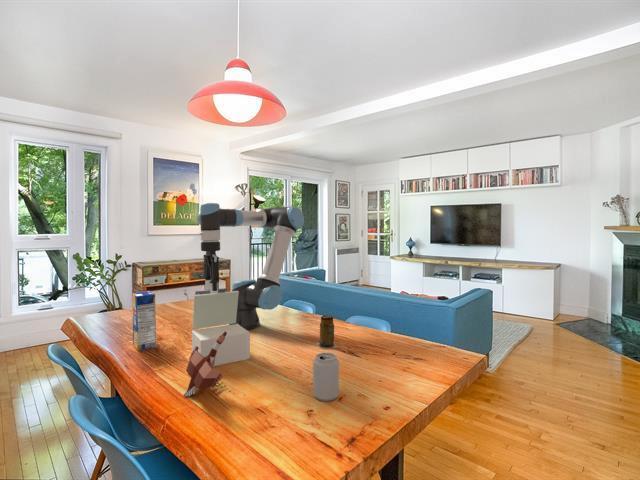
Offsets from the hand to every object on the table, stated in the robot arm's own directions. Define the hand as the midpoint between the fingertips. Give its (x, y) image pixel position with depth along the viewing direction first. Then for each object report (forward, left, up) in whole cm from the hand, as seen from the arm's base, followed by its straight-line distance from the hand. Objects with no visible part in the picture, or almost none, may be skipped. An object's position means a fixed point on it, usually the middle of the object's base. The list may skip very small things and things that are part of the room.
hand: (211, 297), depth 143 cm
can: (-17, +60, -21) cm, 66 cm away
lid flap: (0, +7, -4) cm, 8 cm away
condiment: (-42, +23, -21) cm, 52 cm away
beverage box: (+23, -18, -21) cm, 36 cm away
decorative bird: (+12, +38, -21) cm, 45 cm away
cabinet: (0, +13, -21) cm, 25 cm away
